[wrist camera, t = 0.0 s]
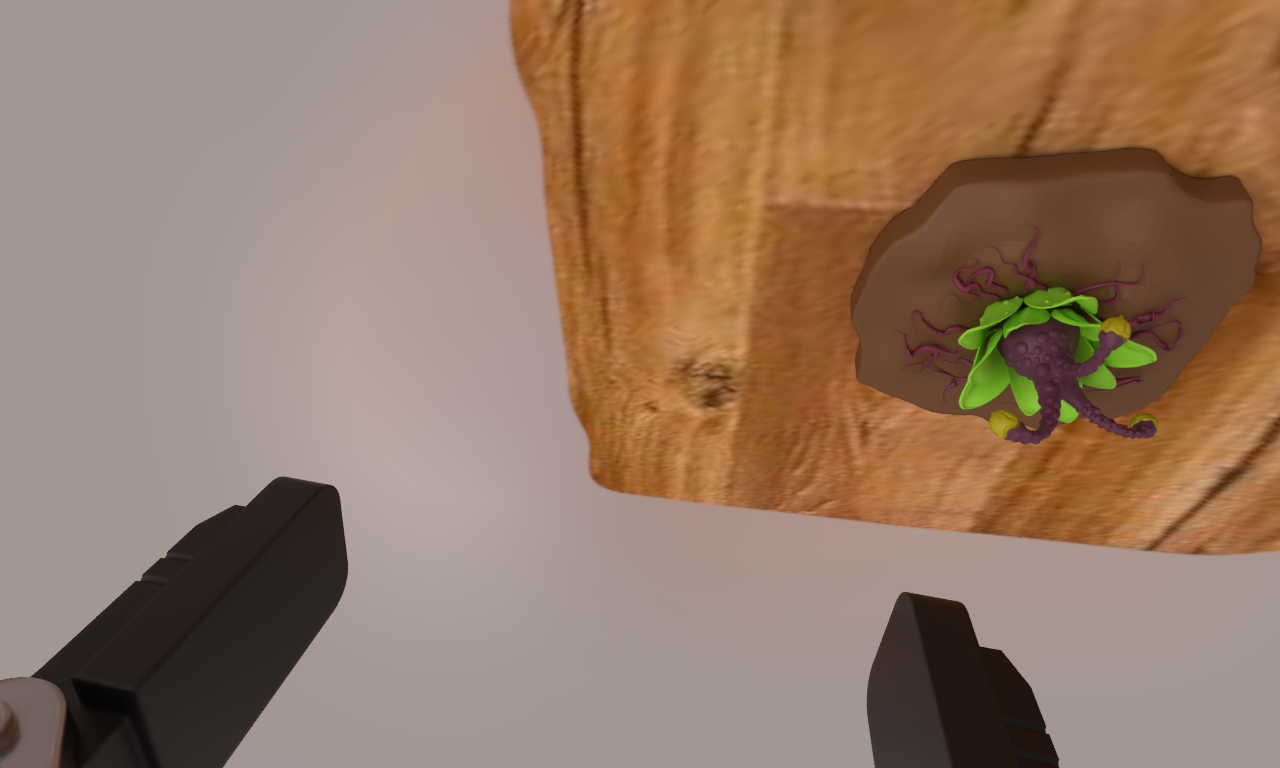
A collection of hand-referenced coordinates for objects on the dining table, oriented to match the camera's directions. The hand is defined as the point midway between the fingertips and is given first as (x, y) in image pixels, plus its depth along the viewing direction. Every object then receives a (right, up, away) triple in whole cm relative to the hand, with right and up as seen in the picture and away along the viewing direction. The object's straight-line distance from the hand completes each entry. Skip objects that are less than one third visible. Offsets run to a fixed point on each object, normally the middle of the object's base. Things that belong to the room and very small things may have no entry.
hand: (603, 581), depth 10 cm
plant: (+24, +8, +33) cm, 41 cm away
